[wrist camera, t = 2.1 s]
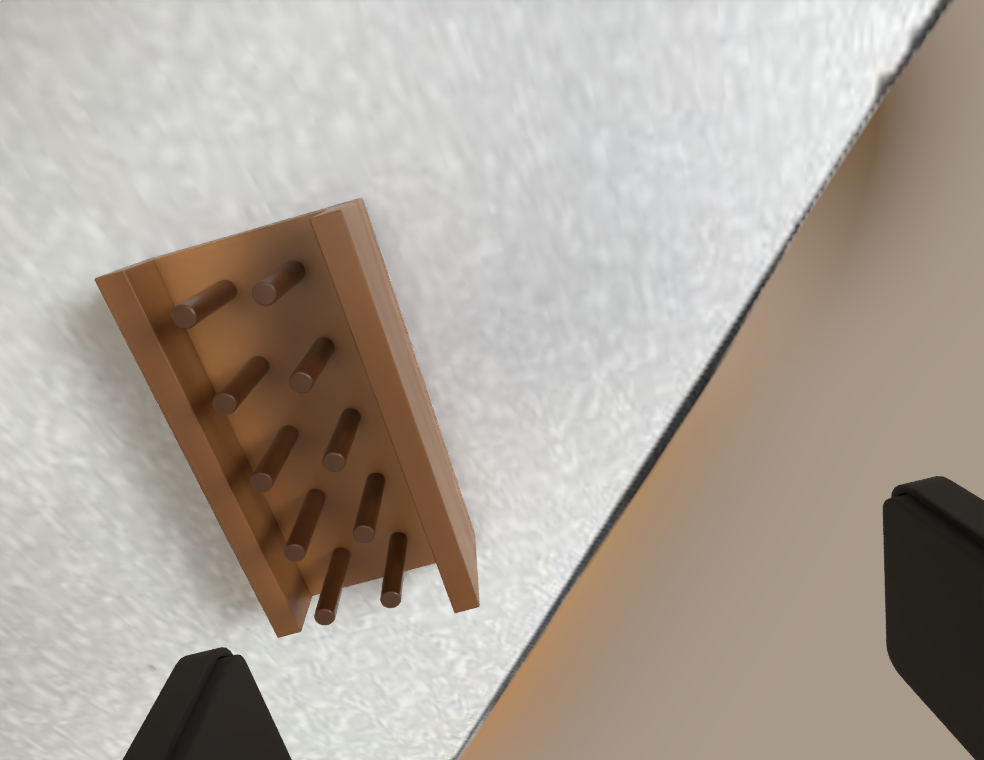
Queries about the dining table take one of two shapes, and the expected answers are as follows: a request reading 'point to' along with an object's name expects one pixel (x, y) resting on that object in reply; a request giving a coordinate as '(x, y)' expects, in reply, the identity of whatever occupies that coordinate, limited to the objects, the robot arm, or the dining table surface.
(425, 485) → the rack
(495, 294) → the dining table surface
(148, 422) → the dining table surface
